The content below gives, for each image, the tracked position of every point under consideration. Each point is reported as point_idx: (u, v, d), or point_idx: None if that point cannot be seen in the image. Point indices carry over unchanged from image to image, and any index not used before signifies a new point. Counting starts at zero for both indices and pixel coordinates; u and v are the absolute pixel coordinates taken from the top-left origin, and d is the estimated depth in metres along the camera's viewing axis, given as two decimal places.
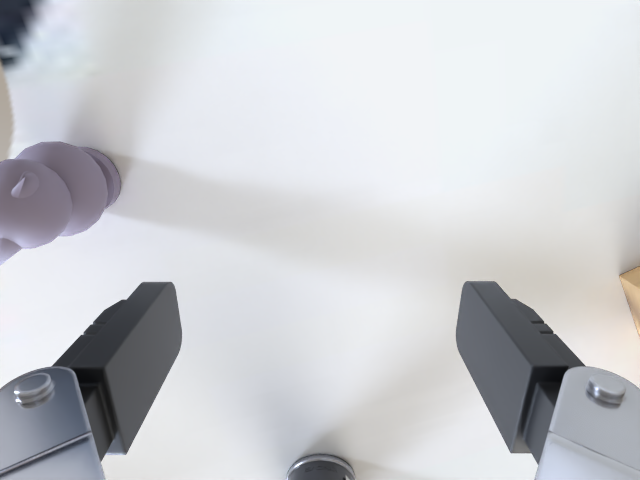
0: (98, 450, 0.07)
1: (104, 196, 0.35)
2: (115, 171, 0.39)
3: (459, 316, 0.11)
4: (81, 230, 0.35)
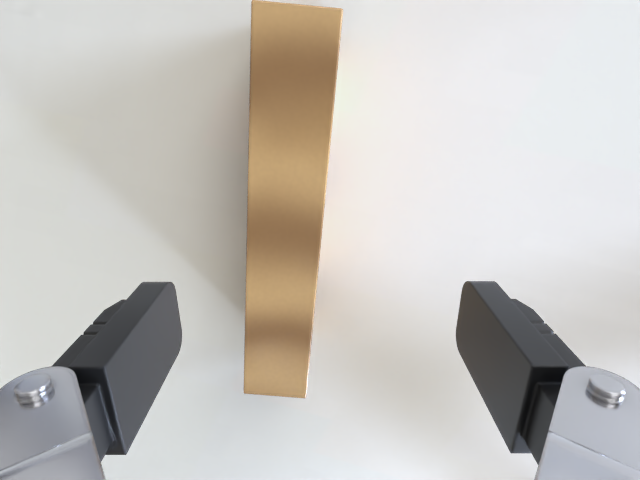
0: (98, 450, 0.07)
1: None
2: None
3: (459, 316, 0.11)
4: None
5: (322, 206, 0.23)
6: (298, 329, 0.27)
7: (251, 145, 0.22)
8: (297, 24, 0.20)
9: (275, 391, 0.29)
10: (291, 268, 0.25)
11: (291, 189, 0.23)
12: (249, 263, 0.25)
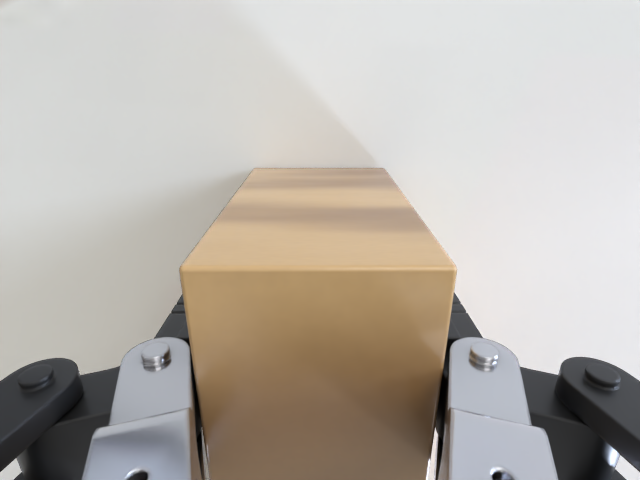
0: (200, 421, 0.08)
1: None
2: None
3: None
4: None
5: None
6: None
7: None
8: (323, 314, 0.07)
9: None
10: None
11: None
12: None
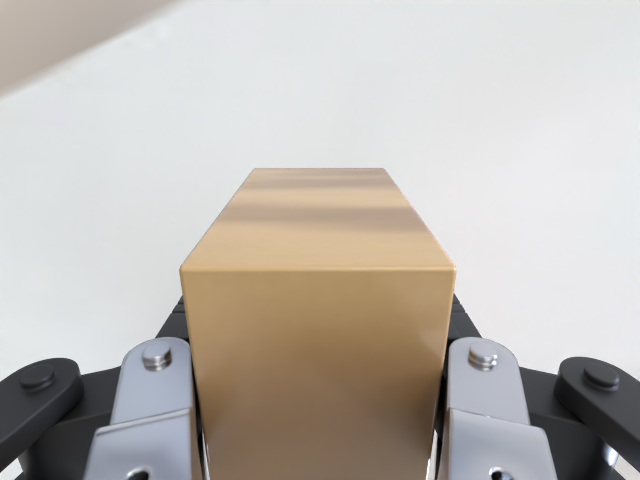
0: None
1: None
2: None
3: None
4: None
5: None
6: None
7: None
8: (323, 314, 0.07)
9: None
10: None
11: None
12: None
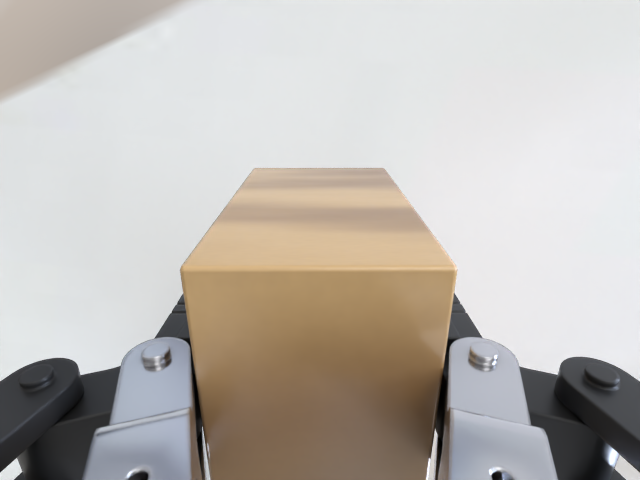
0: (201, 421, 0.08)
1: None
2: None
3: None
4: None
5: None
6: None
7: None
8: (324, 314, 0.07)
9: None
10: None
11: None
12: None
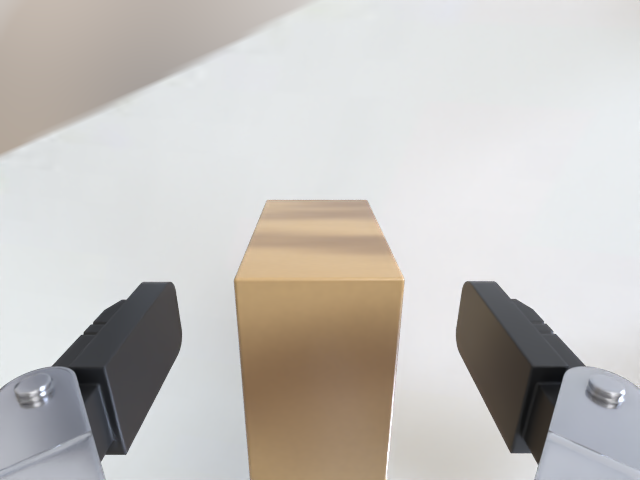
0: (98, 450, 0.07)
1: None
2: None
3: (459, 316, 0.11)
4: None
5: None
6: None
7: (254, 473, 0.13)
8: (322, 308, 0.11)
9: None
10: None
11: None
12: None
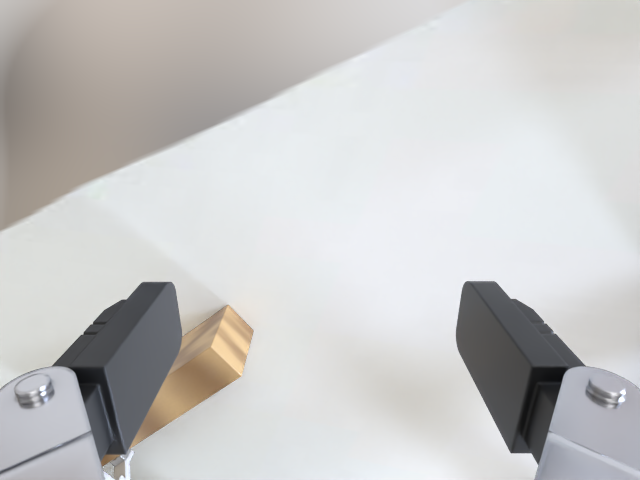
0: (98, 450, 0.07)
1: None
2: None
3: (459, 316, 0.11)
4: None
5: (168, 422, 0.42)
6: None
7: None
8: (220, 366, 0.40)
9: None
10: None
11: (161, 407, 0.41)
12: None
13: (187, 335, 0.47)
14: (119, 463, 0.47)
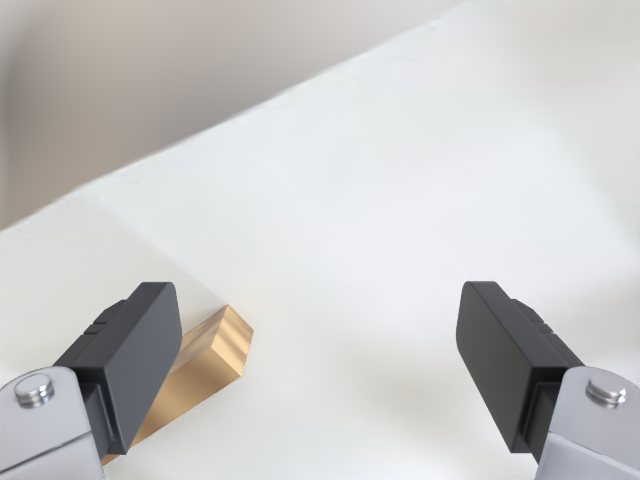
0: (98, 450, 0.07)
1: None
2: None
3: (459, 316, 0.11)
4: None
5: (168, 422, 0.42)
6: None
7: None
8: (220, 366, 0.40)
9: None
10: None
11: (161, 407, 0.41)
12: None
13: (187, 335, 0.47)
14: None
